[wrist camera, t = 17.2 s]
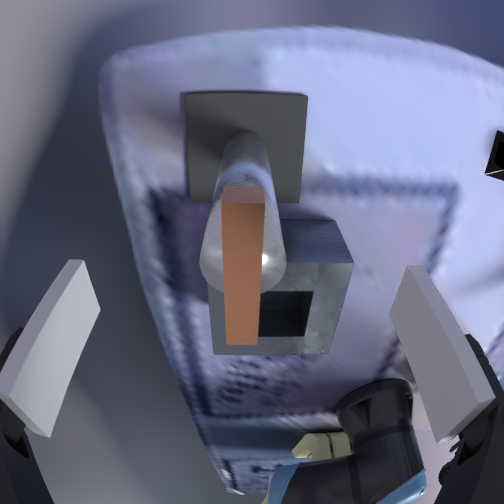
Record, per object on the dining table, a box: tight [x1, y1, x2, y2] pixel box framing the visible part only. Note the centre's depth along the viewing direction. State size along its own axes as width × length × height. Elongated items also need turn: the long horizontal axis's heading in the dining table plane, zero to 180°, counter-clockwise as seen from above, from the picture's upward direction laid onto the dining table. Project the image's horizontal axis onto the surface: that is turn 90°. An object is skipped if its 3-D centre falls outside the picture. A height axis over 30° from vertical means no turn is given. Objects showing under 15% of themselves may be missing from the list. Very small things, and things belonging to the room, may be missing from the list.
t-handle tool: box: [199, 131, 286, 345], centre depth 19 cm, size 4×7×17 cm, turn 179°
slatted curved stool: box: [261, 432, 353, 504], centre depth 57 cm, size 30×16×18 cm, turn 81°
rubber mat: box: [186, 93, 308, 203], centre depth 27 cm, size 10×10×1 cm
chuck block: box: [207, 219, 354, 355], centre depth 31 cm, size 12×12×7 cm
